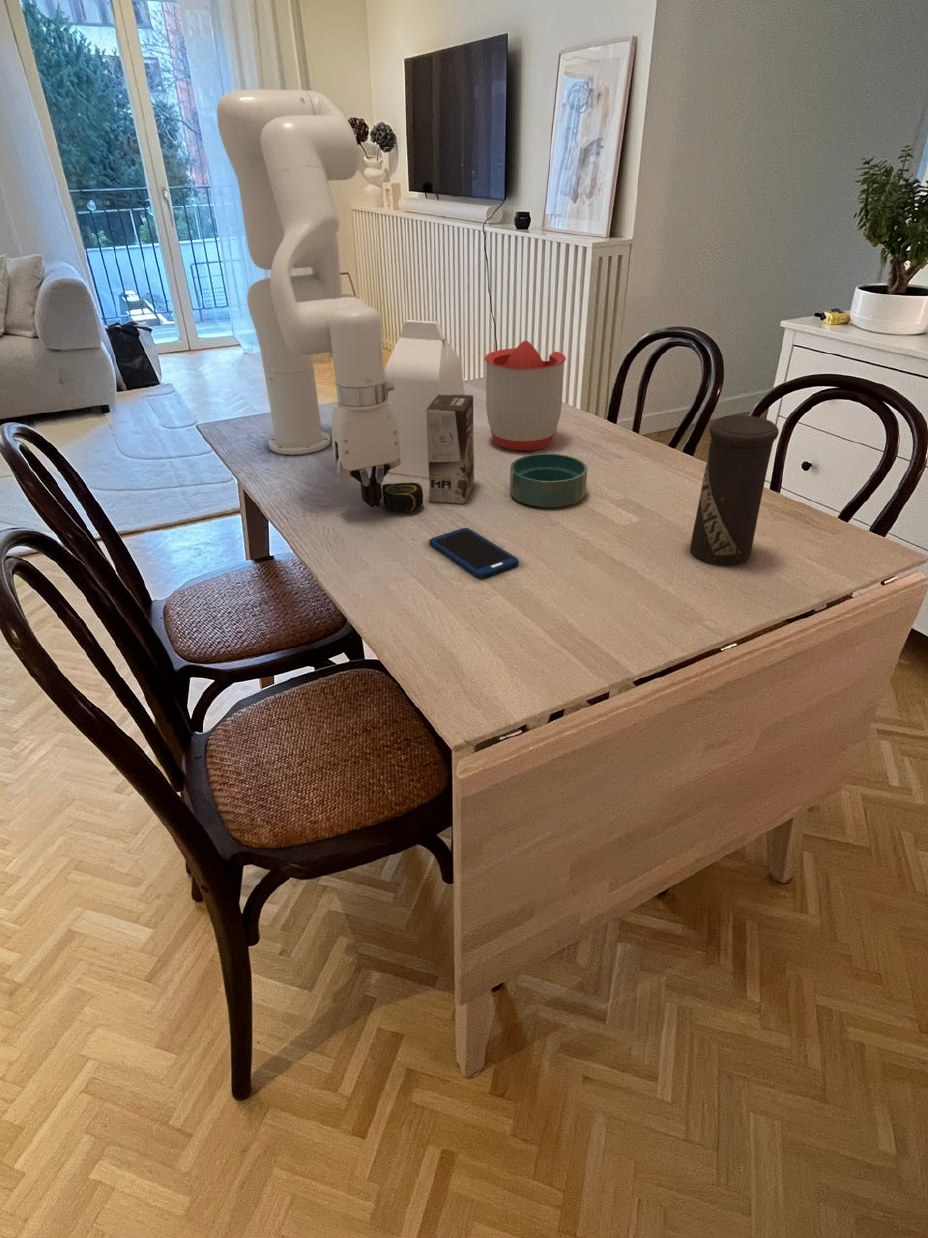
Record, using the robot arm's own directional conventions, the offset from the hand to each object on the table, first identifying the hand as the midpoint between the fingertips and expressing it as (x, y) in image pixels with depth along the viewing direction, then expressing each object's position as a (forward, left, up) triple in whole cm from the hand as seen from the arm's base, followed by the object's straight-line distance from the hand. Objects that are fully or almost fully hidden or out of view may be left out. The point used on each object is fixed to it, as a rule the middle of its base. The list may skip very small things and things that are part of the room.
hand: (372, 504), depth 121 cm
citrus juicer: (-16, +40, -2) cm, 43 cm away
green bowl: (+9, +29, -1) cm, 31 cm away
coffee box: (0, +15, -2) cm, 15 cm away
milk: (-14, +17, -2) cm, 22 cm away
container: (+40, +39, -2) cm, 56 cm away
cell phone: (+22, +7, -2) cm, 23 cm away
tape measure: (0, +5, -2) cm, 5 cm away
